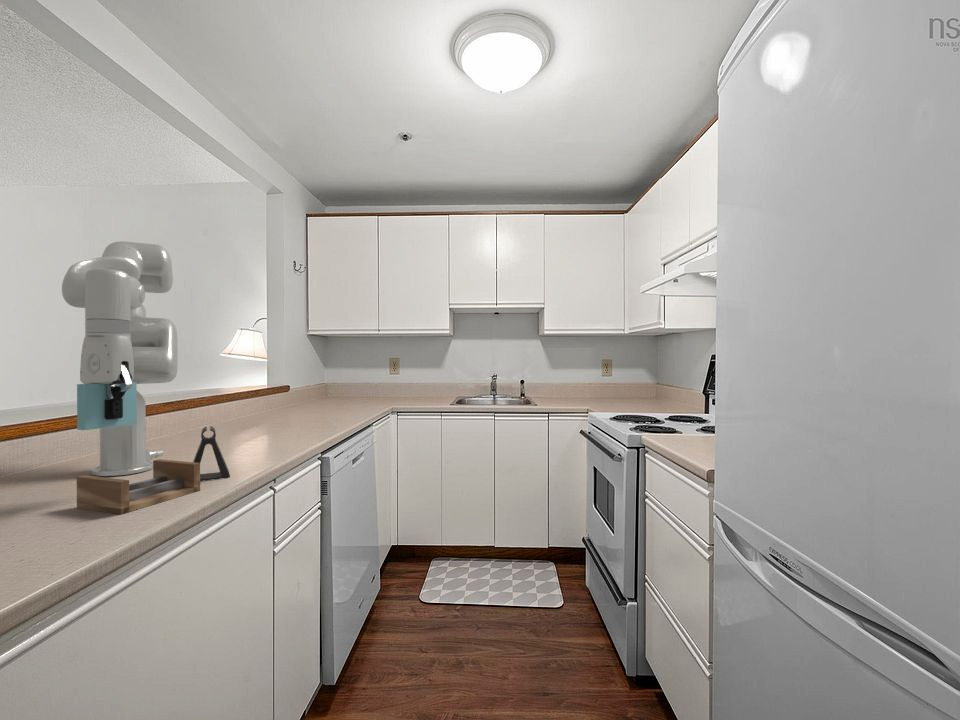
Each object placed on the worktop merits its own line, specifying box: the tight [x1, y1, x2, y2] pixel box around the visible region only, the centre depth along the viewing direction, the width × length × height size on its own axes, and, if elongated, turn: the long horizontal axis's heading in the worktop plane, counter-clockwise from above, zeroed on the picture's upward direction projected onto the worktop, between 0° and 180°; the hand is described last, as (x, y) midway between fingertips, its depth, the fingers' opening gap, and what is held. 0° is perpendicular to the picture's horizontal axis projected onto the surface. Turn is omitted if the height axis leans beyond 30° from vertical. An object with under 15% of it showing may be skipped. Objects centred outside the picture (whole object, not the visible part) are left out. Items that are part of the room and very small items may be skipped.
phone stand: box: [192, 426, 231, 482], centre depth 118 cm, size 9×6×12 cm, turn 119°
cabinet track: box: [76, 458, 201, 515], centre depth 100 cm, size 17×12×6 cm
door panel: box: [76, 382, 138, 431], centre depth 101 cm, size 10×2×9 cm, turn 159°
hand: (108, 417), depth 101 cm, fingers closed on door panel, 2 cm apart
